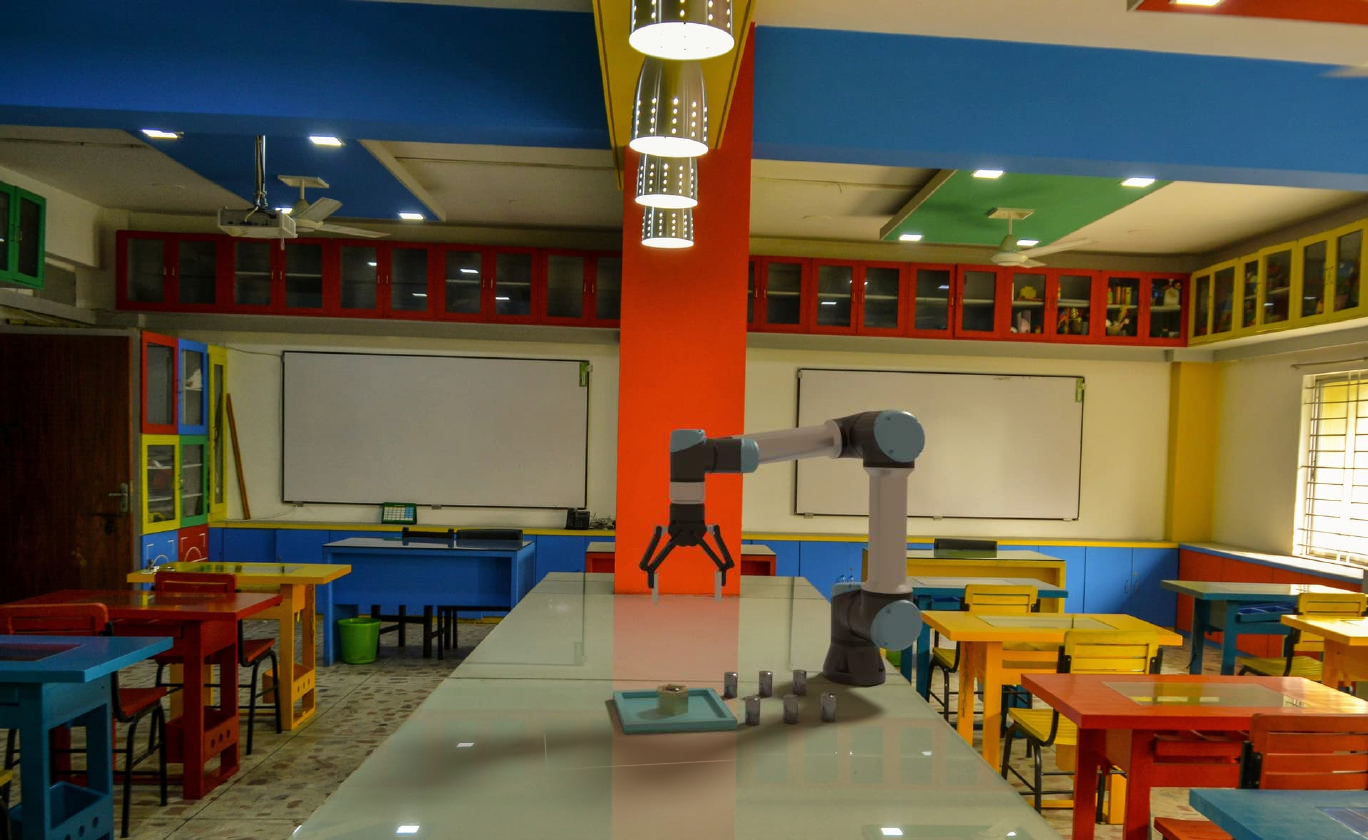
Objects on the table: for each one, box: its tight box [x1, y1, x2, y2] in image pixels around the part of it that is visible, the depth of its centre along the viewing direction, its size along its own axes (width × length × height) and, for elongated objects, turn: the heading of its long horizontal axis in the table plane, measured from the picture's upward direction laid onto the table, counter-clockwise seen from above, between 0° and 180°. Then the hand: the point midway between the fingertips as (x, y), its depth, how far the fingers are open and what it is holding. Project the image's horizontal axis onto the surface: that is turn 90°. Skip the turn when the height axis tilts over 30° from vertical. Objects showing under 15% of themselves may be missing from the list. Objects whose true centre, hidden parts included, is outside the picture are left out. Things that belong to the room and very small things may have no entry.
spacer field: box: [723, 669, 837, 727], centre depth 178 cm, size 19×21×5 cm
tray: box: [612, 686, 739, 735], centre depth 172 cm, size 22×22×2 cm
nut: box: [656, 683, 689, 716], centre depth 172 cm, size 6×7×5 cm
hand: (686, 603), depth 176 cm, fingers open, 13 cm apart
